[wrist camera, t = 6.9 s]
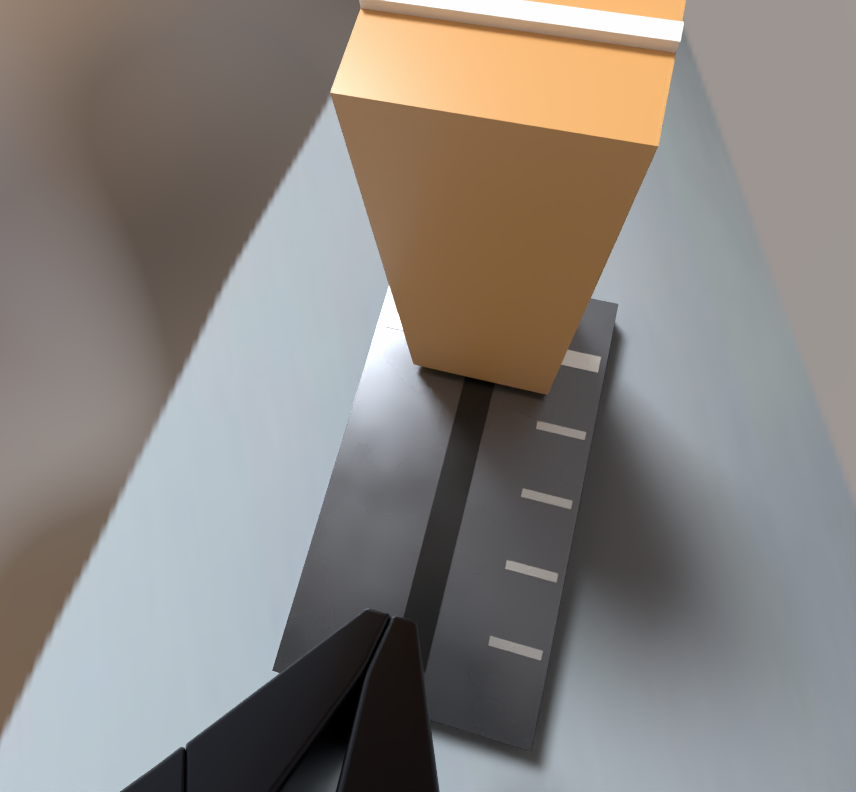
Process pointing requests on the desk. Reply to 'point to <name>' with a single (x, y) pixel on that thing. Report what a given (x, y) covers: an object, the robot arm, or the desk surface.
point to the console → (457, 523)
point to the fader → (501, 164)
